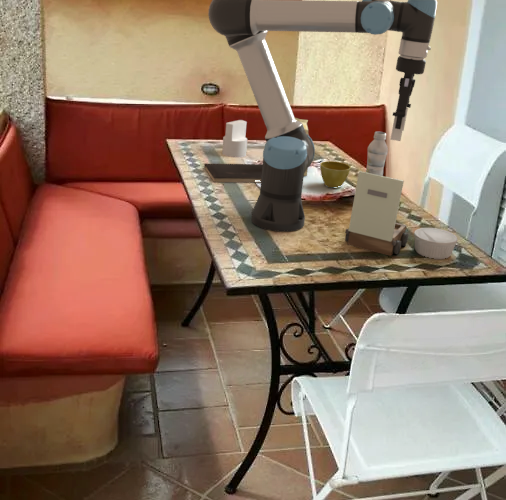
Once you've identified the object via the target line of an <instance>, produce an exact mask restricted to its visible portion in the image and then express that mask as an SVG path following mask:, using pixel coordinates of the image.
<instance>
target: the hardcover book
mask: <svg viewBox="0 0 506 500" xmlns="http://www.w3.org/2000/svg"><path fill="white" fill-rule="evenodd" d="M262 165H263V163H252V164H251V163H204V165H203V169H205V170H206V172H207V173H208V175H209V176H210V178H211V179H212V181H213V182H214V183H255V182H254V181H255V180H260V181H261V176H262Z"/></svg>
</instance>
